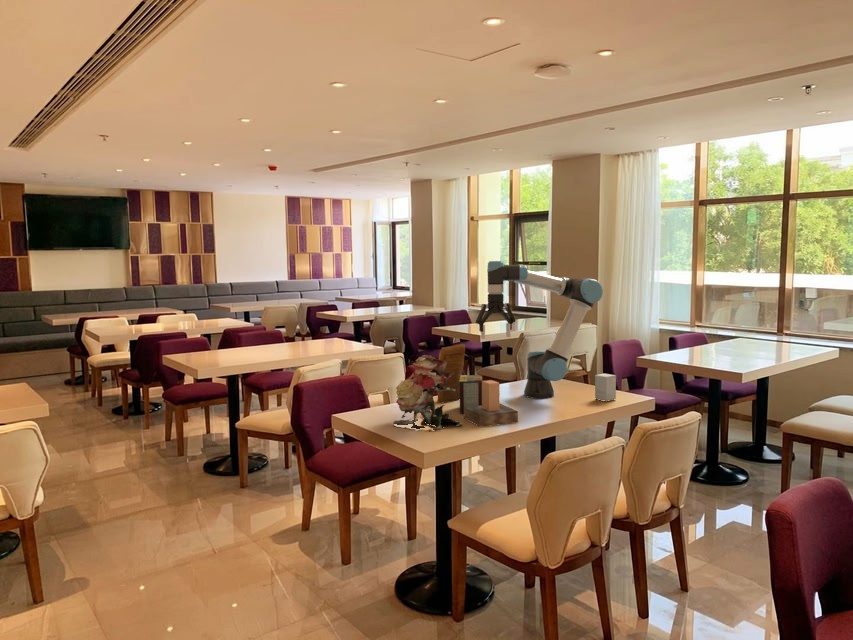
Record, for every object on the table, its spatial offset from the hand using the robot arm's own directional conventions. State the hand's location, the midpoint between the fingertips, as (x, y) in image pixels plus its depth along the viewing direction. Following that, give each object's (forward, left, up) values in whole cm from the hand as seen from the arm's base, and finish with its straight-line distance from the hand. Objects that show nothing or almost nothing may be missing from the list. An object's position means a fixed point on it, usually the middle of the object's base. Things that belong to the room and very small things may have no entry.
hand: (495, 337), depth 302 cm
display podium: (+16, +26, -33) cm, 45 cm away
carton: (+16, +26, -28) cm, 41 cm away
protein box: (+16, +6, -33) cm, 37 cm away
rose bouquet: (+45, +21, -33) cm, 60 cm away
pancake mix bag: (+16, -18, -33) cm, 41 cm away
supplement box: (-54, +13, -33) cm, 65 cm away
